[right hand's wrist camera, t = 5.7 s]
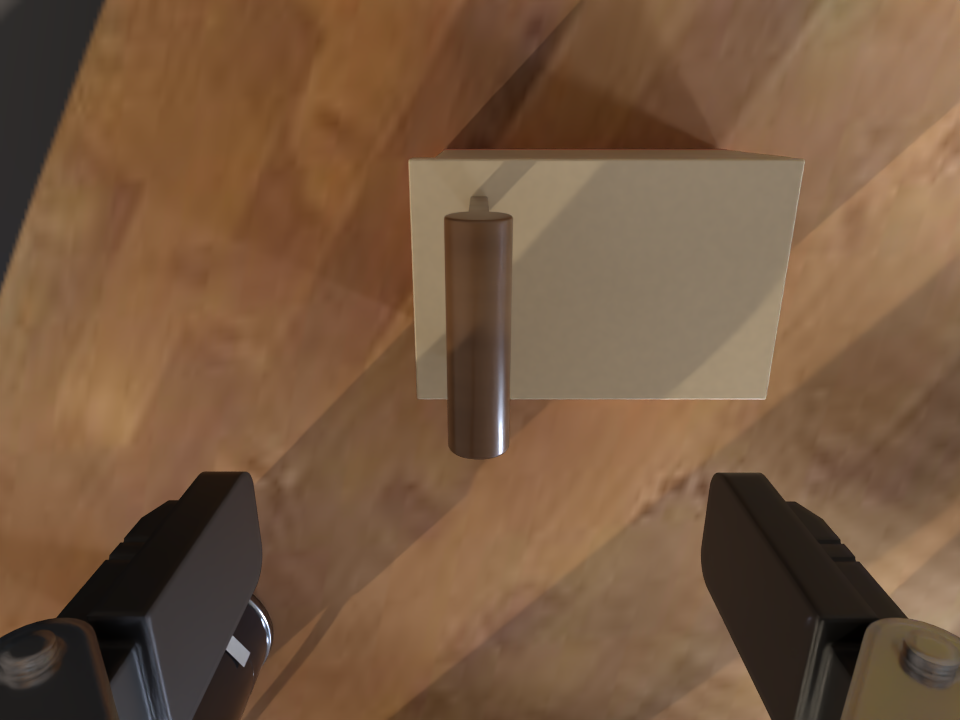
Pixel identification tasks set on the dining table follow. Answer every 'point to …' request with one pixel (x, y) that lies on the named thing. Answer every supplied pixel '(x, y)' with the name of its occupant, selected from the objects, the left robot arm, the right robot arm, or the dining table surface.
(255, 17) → the dining table surface
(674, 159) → the lid
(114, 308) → the dining table surface
